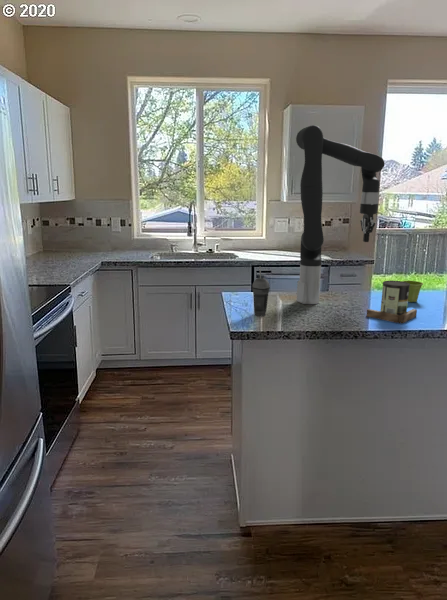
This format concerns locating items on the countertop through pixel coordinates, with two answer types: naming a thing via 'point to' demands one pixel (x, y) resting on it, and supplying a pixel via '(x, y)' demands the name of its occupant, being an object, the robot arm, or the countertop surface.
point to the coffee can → (395, 297)
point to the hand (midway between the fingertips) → (365, 241)
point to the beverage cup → (260, 295)
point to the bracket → (392, 315)
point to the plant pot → (414, 290)
